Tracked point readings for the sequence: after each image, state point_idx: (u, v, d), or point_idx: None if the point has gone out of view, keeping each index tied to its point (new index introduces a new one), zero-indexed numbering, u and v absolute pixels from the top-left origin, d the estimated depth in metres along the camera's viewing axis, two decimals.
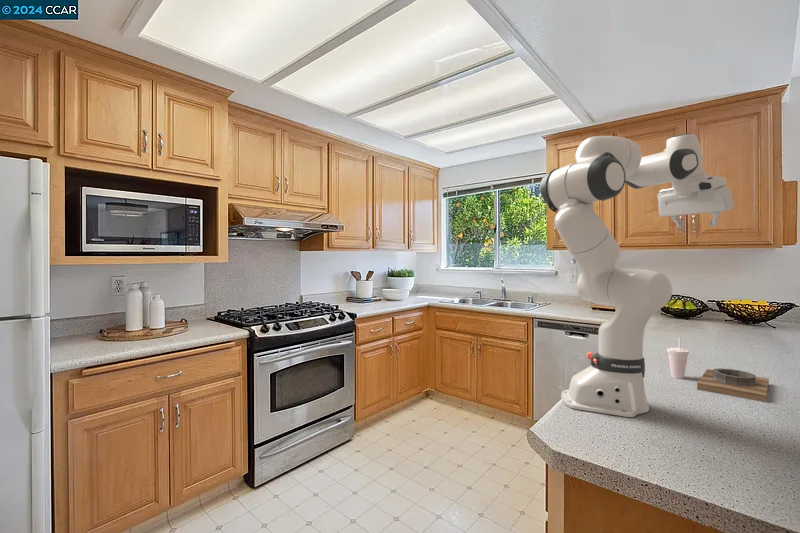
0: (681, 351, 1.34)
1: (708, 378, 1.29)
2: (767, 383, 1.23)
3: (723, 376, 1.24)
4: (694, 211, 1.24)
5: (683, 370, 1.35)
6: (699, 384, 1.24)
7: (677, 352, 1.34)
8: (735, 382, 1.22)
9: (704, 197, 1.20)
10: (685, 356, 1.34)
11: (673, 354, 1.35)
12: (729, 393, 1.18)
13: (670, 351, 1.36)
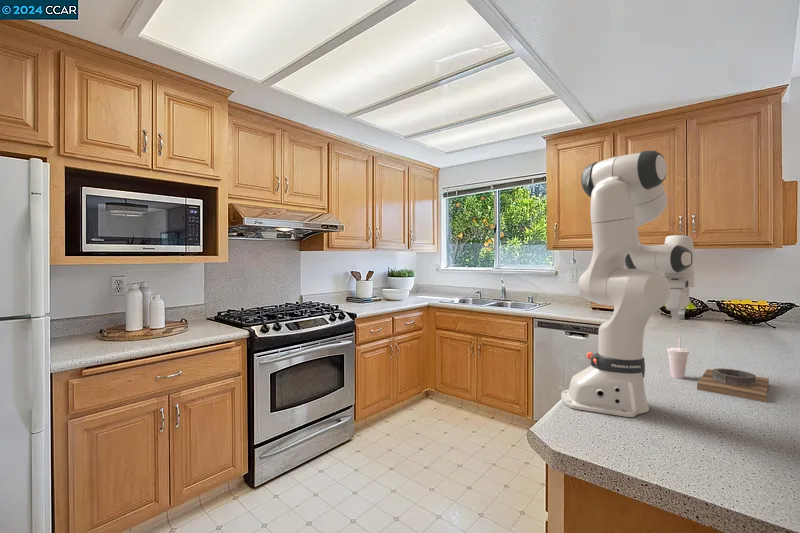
0: (681, 351, 1.34)
1: (708, 378, 1.29)
2: (767, 383, 1.23)
3: (723, 376, 1.24)
4: None
5: (683, 370, 1.35)
6: (699, 384, 1.24)
7: (677, 352, 1.34)
8: (735, 382, 1.22)
9: None
10: (685, 356, 1.34)
11: (673, 354, 1.35)
12: (729, 393, 1.18)
13: (670, 351, 1.36)
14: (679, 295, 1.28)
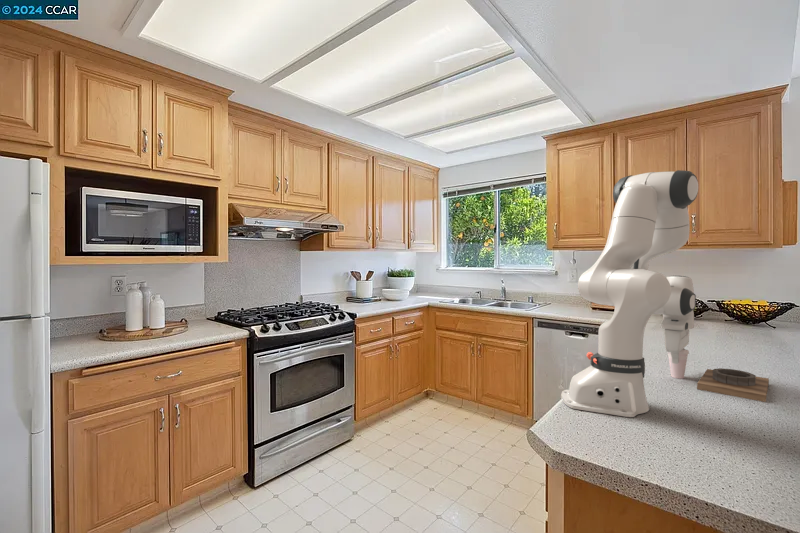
0: (681, 351, 1.34)
1: (708, 378, 1.29)
2: (767, 383, 1.23)
3: (723, 376, 1.24)
4: None
5: (683, 370, 1.35)
6: (699, 384, 1.24)
7: None
8: (735, 382, 1.22)
9: None
10: (685, 356, 1.34)
11: None
12: (729, 393, 1.18)
13: None
14: (679, 337, 1.28)
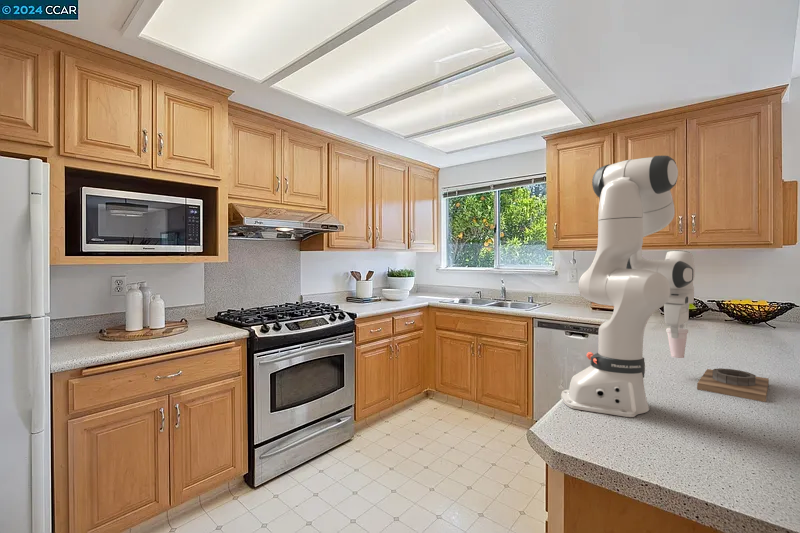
0: (681, 330, 1.34)
1: (708, 378, 1.29)
2: (767, 383, 1.23)
3: (723, 376, 1.24)
4: None
5: (683, 349, 1.34)
6: (699, 384, 1.24)
7: None
8: (735, 382, 1.22)
9: None
10: (685, 335, 1.34)
11: None
12: (729, 393, 1.18)
13: (670, 330, 1.35)
14: (678, 311, 1.28)
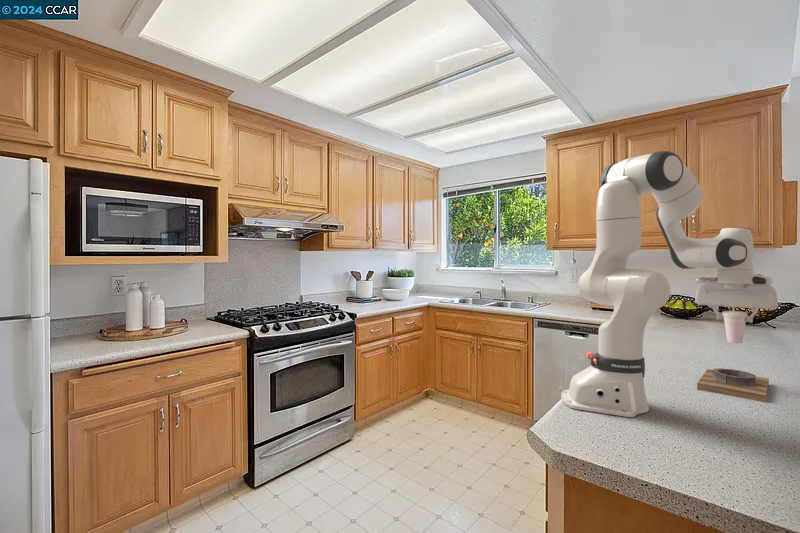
0: (741, 312, 1.26)
1: (708, 378, 1.29)
2: (767, 383, 1.23)
3: (723, 376, 1.24)
4: (738, 304, 1.24)
5: None
6: (699, 384, 1.24)
7: None
8: (735, 382, 1.22)
9: (752, 292, 1.21)
10: None
11: None
12: (729, 393, 1.18)
13: (745, 315, 1.23)
14: None
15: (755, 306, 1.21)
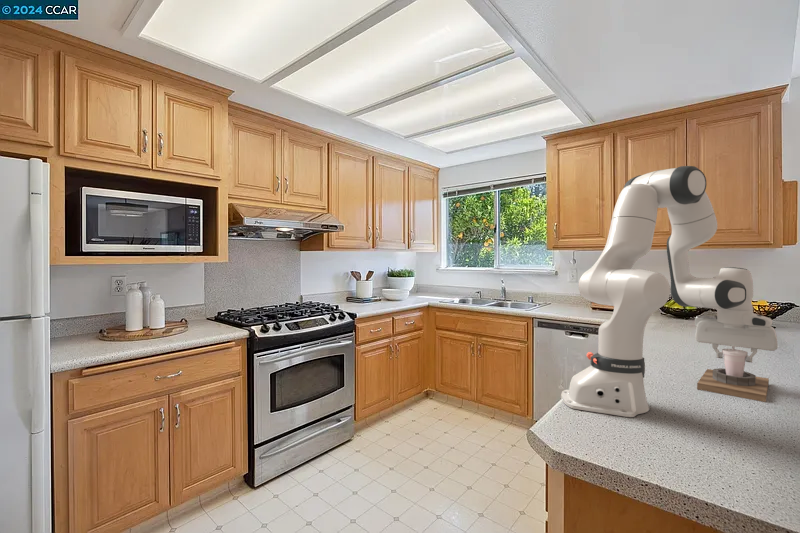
0: (741, 351, 1.26)
1: (708, 378, 1.29)
2: (767, 383, 1.23)
3: (723, 376, 1.24)
4: (738, 344, 1.24)
5: None
6: (699, 384, 1.24)
7: None
8: (735, 382, 1.22)
9: (752, 333, 1.22)
10: None
11: None
12: (729, 393, 1.18)
13: (745, 354, 1.23)
14: (775, 332, 1.20)
15: (755, 347, 1.21)
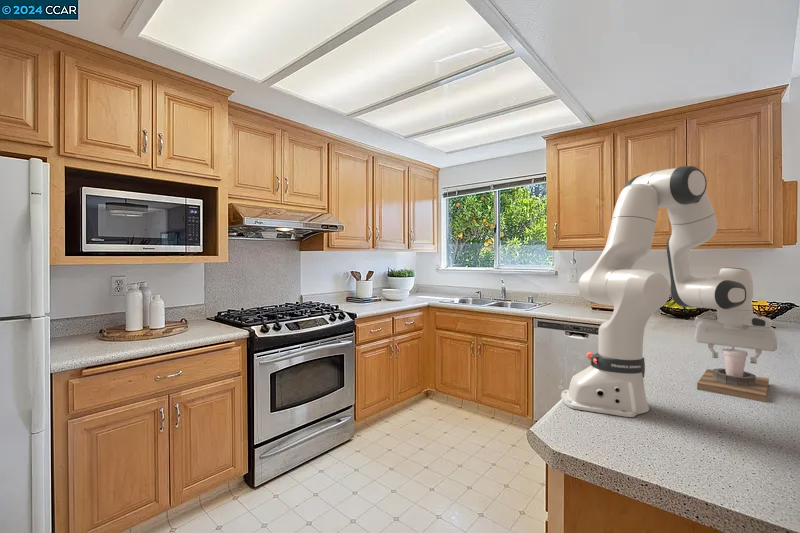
0: (741, 351, 1.26)
1: (708, 378, 1.29)
2: (767, 383, 1.23)
3: (723, 376, 1.24)
4: (737, 344, 1.24)
5: None
6: (699, 384, 1.24)
7: None
8: (735, 382, 1.22)
9: (752, 333, 1.22)
10: None
11: None
12: (729, 393, 1.18)
13: (745, 354, 1.23)
14: None
15: (755, 347, 1.21)
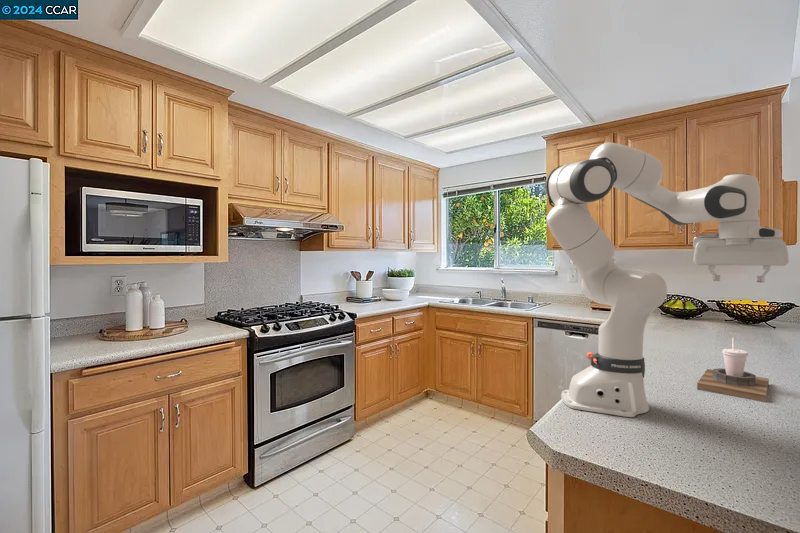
0: (741, 351, 1.26)
1: (708, 378, 1.29)
2: (767, 383, 1.23)
3: (723, 376, 1.24)
4: (742, 262, 1.08)
5: None
6: (699, 384, 1.24)
7: None
8: (735, 382, 1.22)
9: (759, 247, 1.06)
10: None
11: None
12: (729, 393, 1.18)
13: (745, 354, 1.23)
14: None
15: (762, 263, 1.05)
